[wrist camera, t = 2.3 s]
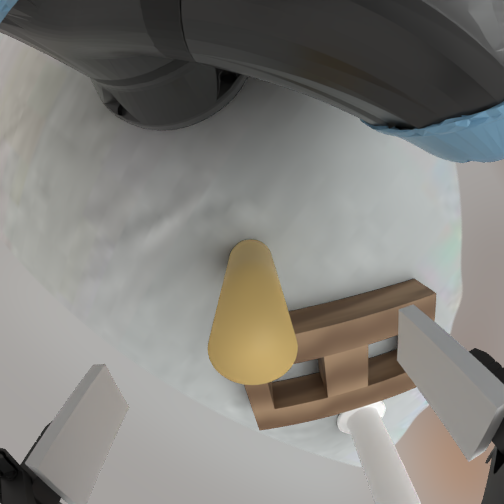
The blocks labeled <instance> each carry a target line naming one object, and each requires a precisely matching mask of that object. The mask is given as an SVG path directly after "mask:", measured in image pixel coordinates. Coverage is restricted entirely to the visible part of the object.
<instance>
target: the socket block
mask: <svg viewBox="0 0 504 504" xmlns="http://www.w3.org/2000/svg"><path fill="white" fill-rule="evenodd" d="M413 304H414V305H415V306H416V307H417V308H418V309H420V310H421V311H422V312H423V313H425V314H426V315H427V316H428V317H429V318H431V319H432V320H433V321H434V320H435V307H436V293H435V292H433V291H432V290H431V289H429V288H428V287H426V286H425V285H423V284H422V283H420V282H419V281H417V280H416V279H411V280H408V281H405V282H402V283H398V284H395V285H391V286H388V287H384V288H381V289H377V290H374V291H370V292H367V293H363V294H359V295H355V296H352V297H348V298H344V299H340V300H336V301H332V302H328V303H324V304H320V305H315V306H311V307H307V308H303V309H298V310H294V311H289V315H290V319H291V322H292V326H293V329H294V333H295V336H296V340H297V345H298V351H297V356H296V359H295V362H294V363H293V364H296V363H300V362H305V361H309V360H313V359H317V358H318V365H319V373H315V374H311V375H306V376H302V377H297V378H293V379H288V380H283V381H278V382H273V383H272V382H269V383H265V384H260V385H245V384H244V385H245V389H246V392H247V395H248V398H249V401H250V404H251V407H252V410H253V413H254V415H255V418H256V421H257V424H258V427H259V430H265V429H272V428H278V427H283V426H289V425H294V424H299V423H303V422H308V421H312V420H317V419H321V418H325V417H329V416H333V415H336V414H340V413H344V412H347V411H351V410H354V409H357V408H361V407H364V406H367V405H370V404H373V403H376V402H379V401H382V400H384V399H387V398H390V397H393V396H395V395H398V394H401V393H403V392H406V391H408V390H411V389H413V388H415V387H416V385H415V384H414V382H413V381H412V380H411V378H410V377H409V376H408V374H407V373H406V372H405V370H404V369H403V368H402V366H401V365H400V364H399V362H398V361H397V351H398V342H397V349H396V350H393V351H390V352H388V353H385V354H382V355H379V356H375V357H372V358H369V359H368V344H372V343H375V342H378V341H381V340H384V339H387V338H390V337H393V336H396V335H398V326H399V309H401V308H404V307H407V306H410V305H413Z"/></svg>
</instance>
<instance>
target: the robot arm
mask: <svg viewBox="0 0 504 504" xmlns="http://www.w3.org/2000/svg"><path fill="white" fill-rule="evenodd" d="M0 32H1V33H3V34H6V35H8V36H10V37H12V38H14V39H17V40H19V41H21V42H23V43H25V44H27V45H29V46H31V47H33V48H35V49H37V50H39V51H41V52H43V53H45V54H47V55H49V56H51V57H53V58H55V59H57V60H59V61H61V62H63V63H64V64H66V65H68V66H70V67H72V68H74V69H76V70H77V71H79V72H81V73H83V74H85V75H87V76H88V77H90V78H91V80H92V82H93V84H94V86H95V89H96V91H97V93H98V95H99V97H100V98H101V100H102V102H103V103H104V105H105V106H106V107H107V108H108V109H109V110H110V111H111V112H112V113H113V114H115V115H116V116H117V117H119V118H120V119H122V120H124V121H126V122H129V123H131V124H133V125H135V126H138V127H141V128H145V129H151V130H172V129H179V128H183V127H187V126H190V125H193V124H196V123H198V122H200V121H202V120H205V119H206V118H208V117H210V116H212V115H213V114H215V113H216V112H218V111H219V110H221V109H222V108H223V107H224V106H225V105H227V104H228V103H229V102H230V101H231V100H232V99H233V98H234V96H235V95H236V94H237V93H238V91H239V90H240V89H241V87H242V86H243V84H244V82H245V80H246V78H247V76H250V77H254V78H257V79H261V80H264V81H267V82H270V83H274V84H277V85H280V86H283V87H286V88H289V89H291V90H294V91H297V92H300V93H303V94H305V95H308V96H311V97H313V98H316V99H318V100H321V101H323V102H325V103H328V104H330V105H332V106H335V107H337V108H339V109H341V110H343V111H345V112H348V113H350V114H352V115H354V116H356V117H358V118H360V120H361V121H362V122H363V123H365V124H366V125H367V126H369V127H371V128H372V129H375V130H376V131H378V132H381V133H384V134H387V135H392V136H397V137H400V138H402V139H404V140H406V141H408V142H410V143H412V144H414V145H416V146H418V147H419V148H421V149H423V150H425V151H426V152H428V153H430V154H432V155H434V156H437V157H439V158H442V159H445V160H449V161H453V162H459V163H465V162H469V161H478V162H495V161H499V160H502V159H504V0H0ZM397 361H398V362H399V364H400V365H401V366H402V368H403V369H404V370H405V372H406V373H407V374H408V376H409V377H410V378H411V380H412V381H413V382H414V384H415V385H416V387H417V388H418V389H419V391H420V392H421V393H422V395H423V396H424V398H425V399H426V400H427V402H428V403H429V404H430V406H431V407H432V409H433V410H434V412H435V413H436V414H437V416H438V417H439V419H440V420H441V422H442V423H443V424H444V426H445V427H446V429H447V430H448V432H449V433H450V435H451V436H452V437H453V439H454V440H455V442H456V443H457V445H458V446H459V448H460V449H461V451H462V453H463V454H464V456H465V457H466V459H467V460H468V462H469V461H471V460H472V459H474V458H475V457H477V456H478V455H480V454H481V453H483V452H484V451H486V449H487V447H488V446H489V444H490V442H491V441H492V442H493V443H494V444H495V447H494V449H493V450H492V452H491V453H490V455H489V456H488V458H487V460H486V463H488V462H489V461H490V459H491V458H492V460H491V466H490V471H489V475H488V480H487V484H486V488H485V492H484V496H483V500H482V503H481V504H504V368H502V367H501V365H500V364H499V363H498V362H495V360H494V359H493V358H492V357H491V356H490V355H489V354H487V353H486V352H484V351H481V350H479V349H476V348H474V349H473V350H471V351H467V350H466V349H465V348H464V347H463V346H462V345H460V344H459V343H458V342H457V341H456V340H455V339H454V338H453V337H452V336H450V335H449V334H448V333H447V332H446V331H445V330H443V329H442V328H441V327H440V326H439V325H438V324H436V323H435V322H434V321H433V320H432V319H431V318H429V317H428V316H427V315H426V314H425V313H423V312H422V311H421V310H420V309H418V308H417V307H416V306H415V305H414V304H413V305H410V306H407V307H404V308H401V309H399V326H398V351H397ZM128 409H129V406H128V404H127V402H126V401H125V399H124V397H123V396H122V394H121V392H120V390H119V389H118V387H117V385H116V383H115V382H114V380H113V378H112V376H111V374H110V372H109V370H108V368H107V367H106V365H105V364H99V365H93V366H92V367H91V368H90V370H89V371H88V373H87V374H86V375H85V376H84V378H83V379H82V380H81V382H80V383H79V385H78V386H77V387H76V389H75V390H74V391H73V393H72V394H71V396H70V397H69V398H68V400H67V401H66V402H65V404H64V405H63V407H62V408H61V409H60V411H59V412H58V414H57V415H56V417H55V418H54V420H53V421H52V422H51V423H49V424H48V425H47V426H46V427H45V428H44V430H43V431H42V433H41V436H39V437H38V439H37V442H35V443H34V445H33V446H32V448H31V450H30V451H29V453H28V454H27V456H26V457H25V459H24V460H23V462H22V463H21V465H19V464H18V463H17V462H16V460H15V459H14V458H13V457H12V456H11V455H10V454H9V453H8V452H7V451H6V449H3V448H0V503H1V504H62V503H60V502H59V501H60V499H61V498H62V499H63V500H65V501H66V502H67V503H68V504H87V502H88V500H89V497H90V495H91V493H92V490H93V488H94V485H95V483H96V481H97V478H98V475H99V473H100V471H101V469H102V466H103V464H104V462H105V460H106V457H107V455H108V453H109V450H110V448H111V446H112V444H113V441H114V439H115V437H116V435H117V433H118V430H119V428H120V426H121V424H122V422H123V420H124V417H125V415H126V413H127V411H128Z"/></svg>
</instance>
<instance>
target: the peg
mask: <svg viewBox="0 0 504 504" xmlns="http://www.w3.org/2000/svg"><path fill="white" fill-rule="evenodd" d="M297 351H298V345H297V340H296V336H295V333H294V329H293V326H292V322H291V319H290V315H289V312H288V309H287V305H286V302H285V298H284V295H283V292H282V288H281V285H280V282H279V278H278V275H277V272H276V268H275V265H274V262H273V258H272V255H271V252H270V250H269V249H268V247H267V246H266V245H265V244H263V243H262V242H260V241H257V240H252V239H251V240H244V241H242V242H240V243H238V244H237V245H236V246H235V247H234V248H233V249H232V251H231V253H230V257H229V261H228V265H227V269H226V273H225V277H224V281H223V285H222V289H221V293H220V297H219V301H218V305H217V309H216V313H215V317H214V321H213V326H212V330H211V334H210V338H209V343H208V355H209V359H210V361H211V363H212V365H213V366H214V368H215V369H216V370H217V371H218V372H219V373H220V374H221V375H222V376H224V377H225V378H227V379H229V380H231V381H233V382H236V383H240V384H245V385H260V384H265V383H269V382H272V381H274V380H276V379H278V378H280V377H281V376H283V375H284V374H285V373H286V372H287V371H288V370H289V369H290V368H291V367H292V365H293V363H294V362H295V359H296V356H297Z"/></svg>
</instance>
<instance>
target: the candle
mask: <svg viewBox="0 0 504 504" xmlns="http://www.w3.org/2000/svg"><path fill="white" fill-rule="evenodd" d="M385 410H386V408H385V404H384V403H383V401H379V402H376V403H373V404H370V405H367V406H364V407H361V408H357V409H354V410H351V411H347V412H344V413H340V414H339V416H338V419H337V425H338V428H339V429H340V430H341V431H342V432H344V433H348V434H351V436H352V439H353V442H354V445H355V447H356V450H357V453H358V456H359V459H360V461H361V464H362V467H363V470H364V473H365V476H366V479H367V482H368V484H369V487H370V490H371V493H372V496H373V499H374V502H375V504H421V502H420V500H419V498H418V495H417V493H416V491H415V489H414V486H413V484H412V482H411V480H410V478H409V476H408V474H407V471H406V469H405V467H404V465H403V463H402V461H401V458H400V456H399V455H398V452H397V450H396V448H395V446H394V444H393V442H392V440H391V438H390V436H389V433H388V431H387V429H386V427H385V425H384V423H383V421H382V417H383V416H384V413H385Z"/></svg>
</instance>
